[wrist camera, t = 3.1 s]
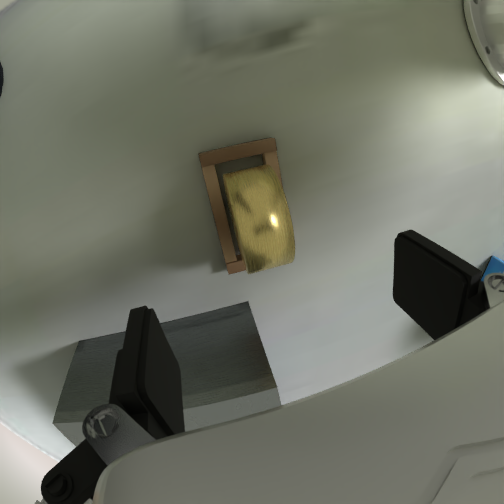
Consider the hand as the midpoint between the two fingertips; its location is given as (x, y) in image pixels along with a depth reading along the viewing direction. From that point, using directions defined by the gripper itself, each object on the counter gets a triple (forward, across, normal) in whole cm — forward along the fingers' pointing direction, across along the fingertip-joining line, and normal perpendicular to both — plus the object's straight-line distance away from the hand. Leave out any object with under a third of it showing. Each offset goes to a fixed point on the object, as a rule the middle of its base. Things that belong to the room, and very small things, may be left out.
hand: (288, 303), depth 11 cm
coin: (+11, -1, 0) cm, 11 cm away
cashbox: (+12, +8, +15) cm, 20 cm away
